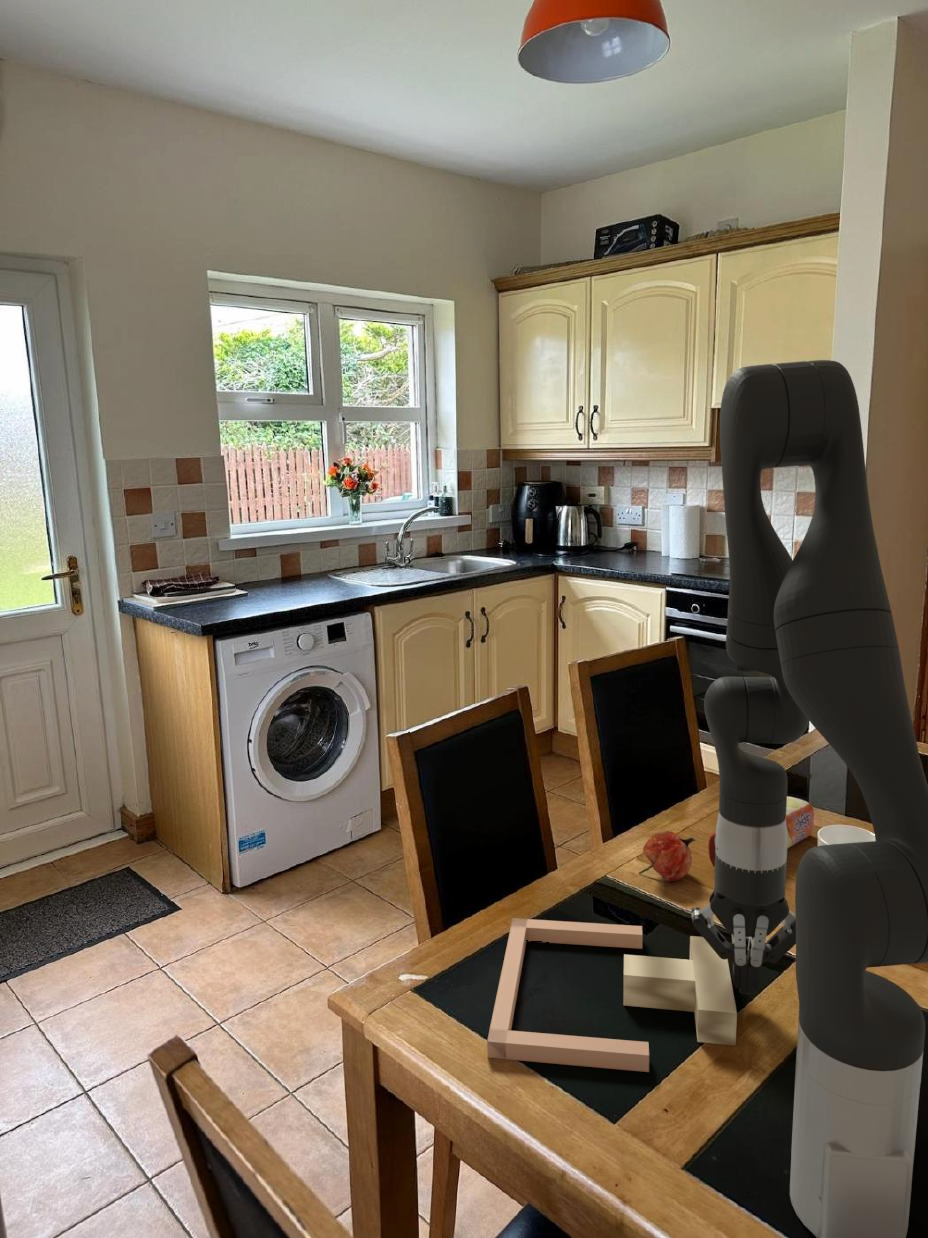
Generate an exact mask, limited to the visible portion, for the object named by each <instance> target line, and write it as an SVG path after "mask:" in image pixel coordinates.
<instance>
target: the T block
mask: <svg viewBox="0 0 928 1238" xmlns="http://www.w3.org/2000/svg"><path fill="white" fill-rule="evenodd" d="M622 997H623V998H622V999H623V1001H622V1002H623V1004H622V1005H623V1006H624V1007H625V1006H628V1007H637V1008H639V1007H640V1008H648V1009H649V1008H651V1009H660V1010H669V1011H670V1010H672V1011H680V1012H683V1011H684V1012H691V1013H694V1021H695V1030H696V1039H697V1040H696V1041H697V1043H706V1044H717V1045H726V1046H735V1047H736V1045H737V1021H738V1020H737V1017H738V1012H737V1006H736V1000H735V995H734V989H733V983H732V978H731V972H730V967H729V959H725V960H724V959H721V958H720V957H719V956H718V955H717V953H716V952H715V951H714V950H713V949H712V947H711V946H710V945H709V944H708V942H707V941H706V940H705V939H704V938H703V936H696V935H695V936H694V935H690V937H689V959H685V958H683V959H682V958H672V957H662V956H661V957H660V956H651V955H650V956H649V955H648V956H647V955H637V954H636V955H635V954H625V953H624V954H623V996H622Z"/></svg>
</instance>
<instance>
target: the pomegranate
mask: <svg viewBox="0 0 928 1238" xmlns="http://www.w3.org/2000/svg"><path fill="white" fill-rule="evenodd" d="M695 841H696V838H694V837H689V838H687V839H683V838H681V836H680V835H679V834H677V833H675V832H673V831H669V830H665V831H657V832H655V833H653V834H652V835H651V836H650V838H648V839H647V840H646V842H645V843H644V846H643V848H642V851H643V853H644V855H645V857H646V859H648V861H649V862H650V863H651V864H650V865H649V866H647V867H646V868H645V869H642V870H641V871H639V872H638V874H639V875H642V874H643V873H645V872H646V871H649V870H650V869H651V868H652V869H653V870H654V871H655V872H656V873H658V874H659V875H660V876H661V877H662V879H663V880H664V881H665V882H669V883H670V882H675V881H679V880H680V879H683V878H684V877H685V876H686V875H687V874H688V873H689V871H690V869H691V866H692V864H693V863H692V861H693V860H692V859H693V858H692V852H691V849H690V847H689V846H690V844H691V843H692V842H695Z"/></svg>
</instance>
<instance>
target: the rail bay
mask: <svg viewBox="0 0 928 1238" xmlns="http://www.w3.org/2000/svg"><path fill="white" fill-rule="evenodd" d="M526 940H528V941H526ZM531 941H542V942H541V943H546V942H549V944H562V945H563V944H564V945H565V944H566V945H576V946H577V945H578V946H579V945H581V946H595V947H611V948H626V949H639V950H640V949H641V950H642V949H643V925H631V924H630V925H629V924H628V925H627V924H614V923H613V924H611V923H598V922H581V921H563V920H549V919H548V920H547V919H532V918H531V919H529V918H516V917H515V918H514V917H512V919H511V924H510V930H509V934H508V939H507V943H506V944H507V945H506V949H505V953H504V960H503V964H502V969H501V972H500V977H499V981H498V988H497V992H496V997H495V1002H494V1007H493V1012H492V1014H491V1015H492V1016H491V1017H492V1018H491V1020H490V1026H489V1031H488V1036H487V1040H486V1043H487V1046H486V1047H487V1058H489V1059H498V1060H499V1059H501V1060H508V1061H509V1060H511V1061H520V1062H521V1061H523V1062H535V1063H542V1064H543V1063H544V1064H545V1063H546V1064H555V1065H556V1064H557V1065H567V1066H578V1067H589V1068H590V1067H591V1068H600V1069H610V1070H611V1069H612V1070H621V1071H623V1070H624V1071H632V1072H633V1071H634V1072H644V1073H645V1072H646V1073H650V1048H649V1047H650V1046H649V1041H641V1040H627V1039H626V1040H625V1039H614V1038H604V1037H603V1038H602V1037H592V1036H591V1037H590V1036H582V1035H581V1036H580V1035H579V1036H578V1035H568V1034H558V1033H557V1034H556V1033H545V1032H544V1033H542V1032H534V1031H533V1032H531V1031H521V1030H520V1031H519V1030H512V1027H513V1022H514V1014H515V1009H516V1003H517V999H518V992H519V986H520V980H521V976H522V968H523V962H524V957H525V951H526V946H527V942H531Z"/></svg>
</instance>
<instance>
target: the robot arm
mask: <svg viewBox="0 0 928 1238" xmlns="http://www.w3.org/2000/svg"><path fill="white" fill-rule="evenodd" d="M721 397H722V398H721V402H720V411H719V442H720V444H719V446H720V460H721V475H722V476H721V477H722V491H723V503H724V504H723V505H724V507H723V508H724V517H725V519H724V520H725V529H726V530H725V531H726V539H727V540H726V541H727V549H728V552H727V553H728V563H729V564H728V566H729V567H728V568H729V569H728V570H729V587H728V588H729V591H728V602H727V603H728V604H727V619H726V620H727V621H726V634H725V635H726V638H725V649H726V653H727V656H728V657H729V659H730V660H731V661H732V662H733V663H735V664H736V665H737V666H740V667H742V668H745V669H747V670H751V671H754V672H759V673H763V674H765V675H766V674H767V675H769V676H770V677H769V676H744V677H743V676H721V677H719V678H717V679H715V680H714V681H713V682H712V683H711V684H710V685H709V687H708V688H707V690H706V692H705V694H704V698H703V699H704V701H703V707H704V708H703V709H704V715H705V719H706V722H707V726H708V729H709V732H710V735H711V739H712V742H713V746H714V750H715V754H716V759H717V765H718V773H719V774H718V775H719V789H718V790H719V794H718V795H719V797H718V816H717V821H716V828H715V831H716V837H715V867H714V887H713V891H712V893H711V894H710V896H709V900H708V901H709V903H707V904H706V905H704V906H703V907H699V906H695V907H694V906H693V908H692V909H690V912H691V913H690V914H691V922H692V925H693V927H694V929H696V931H697V932H698V933H699V934H700V936H701V937H703V938H704V939H705V940H706V941H707V942H708V944H709V945H710V946H711V947H712V949H713V950H714V951H715V952H716V953H717V955H718V956H719V957H720V958H721V959H724V960H725V959H727V960H728V961H729V960H730V961H732V974H731V976H732V981H733V983H732V984H733V985H734V987H735V989H738V990H739V993H740V994H743V995H744V994H745V995H754V990H757V991H758V989H759V988H760V984H761V981H760V980H761V965H763V964H765V963H770V964H776V963H778V962H779V961H780V960H781V959H782V958H783V957H784V956H785V955H786V954H788V952H789V951H790V950H791V949H792V948H793V947H794V946H795V979H796V987H797V989H796V990H797V996H798V1021H797V1041H796V1054H795V1055H796V1057H795V1058H796V1059H795V1073H794V1074H795V1077H794V1095H793V1097H794V1098H793V1112H792V1113H793V1114H792V1115H793V1116H792V1130H791V1131H792V1135H791V1149H790V1150H791V1152H790V1153H791V1154H790V1155H791V1157H790V1158H791V1159H790V1179H789V1180H790V1181H789V1196H790V1197H789V1198H790V1202H791V1205H792V1207H793V1209H794V1212H795V1214H796V1216H797V1217H798V1219H799V1220H800V1221H801V1223H802V1224H803V1225H804V1226H805V1228H807V1229H808V1230H809V1231H810V1233H812V1235H814V1236H815V1238H906V1237H907V1234H908V1228H909V1220H910V1219H909V1218H910V1217H909V1216H910V1207H911V1197H912V1195H911V1194H912V1182H913V1170H914V1160H915V1159H914V1158H915V1148H916V1138H917V1137H916V1136H917V1126H918V1125H917V1124H918V1115H919V1114H918V1113H919V1112H918V1111H919V1102H920V1101H919V1100H920V1091H921V1090H920V1089H921V1082H922V1071H923V1069H922V1068H923V1061H924V1060H923V1057H924V1048H925V1038H926V1020H925V1016H924V1014H923V1010H922V1009H921V1007H920V1005H919V1004H918V1002H917V1001H916V1000H915V999H914V998H913V996H912V995H910V994H909V992H907V991H906V990H905V989H904V988H903V987H901V986H900V985H898V984H897V983H895V982H893V981H891V980H889V979H887V978H886V977H884V976H882V975H879V974H876V973H875V972H871V971H868V970H867V968H878V967H890V966H891V967H892V966H905V965H913V964H915V965H916V964H923V963H928V782H927V779H926V775H925V772H924V767H923V763H922V759H921V757H920V752H919V748H918V743H917V738H916V734H915V730H914V724H913V721H912V720H913V719H912V715H911V710H910V704H909V701H908V695H907V691H906V690H907V689H906V684H905V679H904V678H905V677H904V672H903V667H902V666H903V665H902V660H901V654H900V653H901V652H900V647H899V642H898V636H897V633H896V629H895V628H896V627H895V622H894V617H893V612H892V608H891V604H890V599H889V596H888V592H887V587H886V583H885V580H884V579H885V578H884V575H883V570H882V566H881V560H880V555H879V551H878V550H879V549H878V546H877V540H876V536H875V530H874V524H873V518H872V511H871V504H870V498H869V497H870V495H869V489H868V487H869V486H868V481H867V467H866V460H865V449H864V439H863V430H862V422H861V420H862V419H861V412H860V407H859V406H860V405H859V401H858V395H857V392H856V388H855V385H854V382H853V379H852V376H851V375H850V372H849V370H848V369H847V368H846V366H844V365H843V364H842V363H840V362H839V361H836V360H829V359H827V360H826V359H818V360H808V361H807V360H805V361H804V360H803V361H790V362H780V363H779V362H778V363H766V364H758V365H749V366H744V367H740V368H738V369H736V370H735V371H733V372H732V373H731V375H730V376H729V377H728V379H727V381H726V383H725V385H724V388H723V393H722V395H721ZM800 466H801V467H803V466H810V468H811V470H812V472H813V477H814V488H815V490H814V493H815V494H814V495H815V497H814V507H813V512H812V517H811V519H810V523H809V525H808V528H807V531H806V533H805V534H804V535H805V536H804V537H803V539H802V542H801V544H800V546H799V547H798V550H797V552H796V554H795V555H794V558H792V556H791V554H790V553H789V551H788V550H787V548H786V546H785V545H784V543H783V542H782V540H781V538H780V537H779V535H778V534H777V532H776V530H775V529H774V526H773V524H772V522H771V520H770V519H769V516H768V514H767V512H766V511H767V510H766V509H765V507H764V501H763V496H762V487H761V486H762V484H761V483H762V482H761V479H762V477H761V475H762V471H763V470H767V469H774V468H789V467H800ZM809 723H810V724H812V726H813V727H814V728H815V729H816V731H817V732H818V733H819V734H820V735H821V737H823V739H824V740H825V741H826V742H827V743H828V744H829V746H831V748H832V749H833V750H834V751H835V752H836V754H837V755H838V756H839V757H840V759H841V760H842V761H843V763H844V764H845V766H847V768H848V769H849V771H850V773H851V774H852V776H853V777H854V779H855V781H856V783H857V785H858V787H859V789H860V791H861V793H862V796H863V799H864V801H865V805H866V808H867V811H868V813H869V816H870V820H871V824H872V829H873V832H874V833H873V834H875V840H876V841H870V842H857V843H845V844H831V845H822V846H818V845H817V846H816V845H815V846H813V847H811V848H810V849H809V848H808V849H807V851H805V853H804V854H803V855H802V857H801V859H800V862H799V864H798V866H797V870H796V878H795V886H794V887H795V891H794V894H795V895H794V904H795V906H794V908H795V913H794V911H792V910H791V909H790V907H789V903H788V901H787V899H786V880H787V879H786V878H787V859H788V857H787V856H788V849H787V826H786V807H787V796H788V773H787V772H786V769H785V768H784V767H783V765H781V764H780V763H779V762H777V761H775V760H773V759H770V758H766V757H762V756H758V755H755V754H753V753H752V754H751V753H748V752H746V751H744V750H742V749H741V748H740V747H739V744H740V743H741V744H742V743H746V744H747V743H749V744H784V745H785V744H791V743H794V742H796V741H798V740H799V739H800V738H801V737H802V736H803V735H804V734H805V733H806V731H807V729H808V727H809ZM714 915H715V917H716V919H717V920H718V921H719V922H720V923H721V924H720V925H722V926H723V928H724V929H725V930H726V931H727V932H728V933H729V934H731V942H728V939H726V937H725V936H724V935H723V934H722V932H721V931H719V929H718V928H717V927H716V925H715V919H714ZM780 924H781V927H780V928H779V929H778V930H777V931H776V932H775V933H774V934H773V935H772V936H771V937H770V938H768V940H767V941H766V939H767V937H768V936H770V935H771V934H772V933H773V932H774V931H775V930H776V928H778V926H779V925H780ZM746 938H748V944H746V943H747V942H746ZM747 945H748V946H747ZM746 946H747V947H746ZM746 948H747V949H746ZM746 950H747V952H746ZM746 953H747V954H746Z"/></svg>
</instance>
